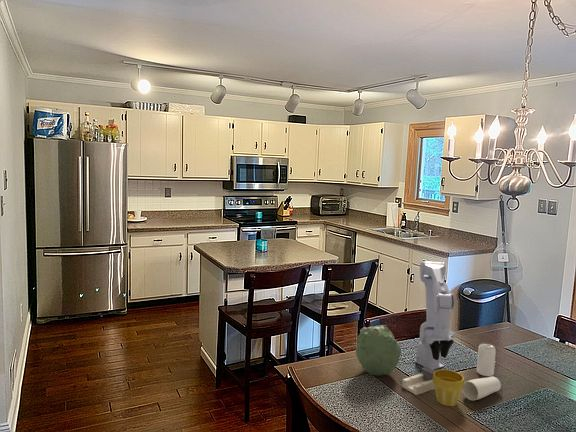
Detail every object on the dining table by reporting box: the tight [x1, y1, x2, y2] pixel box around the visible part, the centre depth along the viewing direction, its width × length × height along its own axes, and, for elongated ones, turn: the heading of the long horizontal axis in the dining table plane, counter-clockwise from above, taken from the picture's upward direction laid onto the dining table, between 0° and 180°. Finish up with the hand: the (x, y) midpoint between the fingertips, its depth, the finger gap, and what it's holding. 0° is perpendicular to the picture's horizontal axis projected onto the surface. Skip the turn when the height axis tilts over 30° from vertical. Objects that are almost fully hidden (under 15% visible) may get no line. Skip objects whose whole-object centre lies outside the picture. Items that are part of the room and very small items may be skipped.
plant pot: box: [433, 368, 465, 407], centre depth 157 cm, size 10×10×10 cm
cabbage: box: [355, 324, 402, 377], centre depth 176 cm, size 16×19×20 cm
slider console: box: [401, 372, 435, 396], centre depth 168 cm, size 7×15×3 cm, turn 123°
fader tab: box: [420, 366, 435, 381], centre depth 169 cm, size 5×3×4 cm, turn 32°
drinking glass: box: [462, 375, 502, 402], centre depth 163 cm, size 7×7×15 cm
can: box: [476, 342, 496, 378], centre depth 180 cm, size 6×6×12 cm
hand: (439, 358), depth 172 cm, fingers open, 4 cm apart
